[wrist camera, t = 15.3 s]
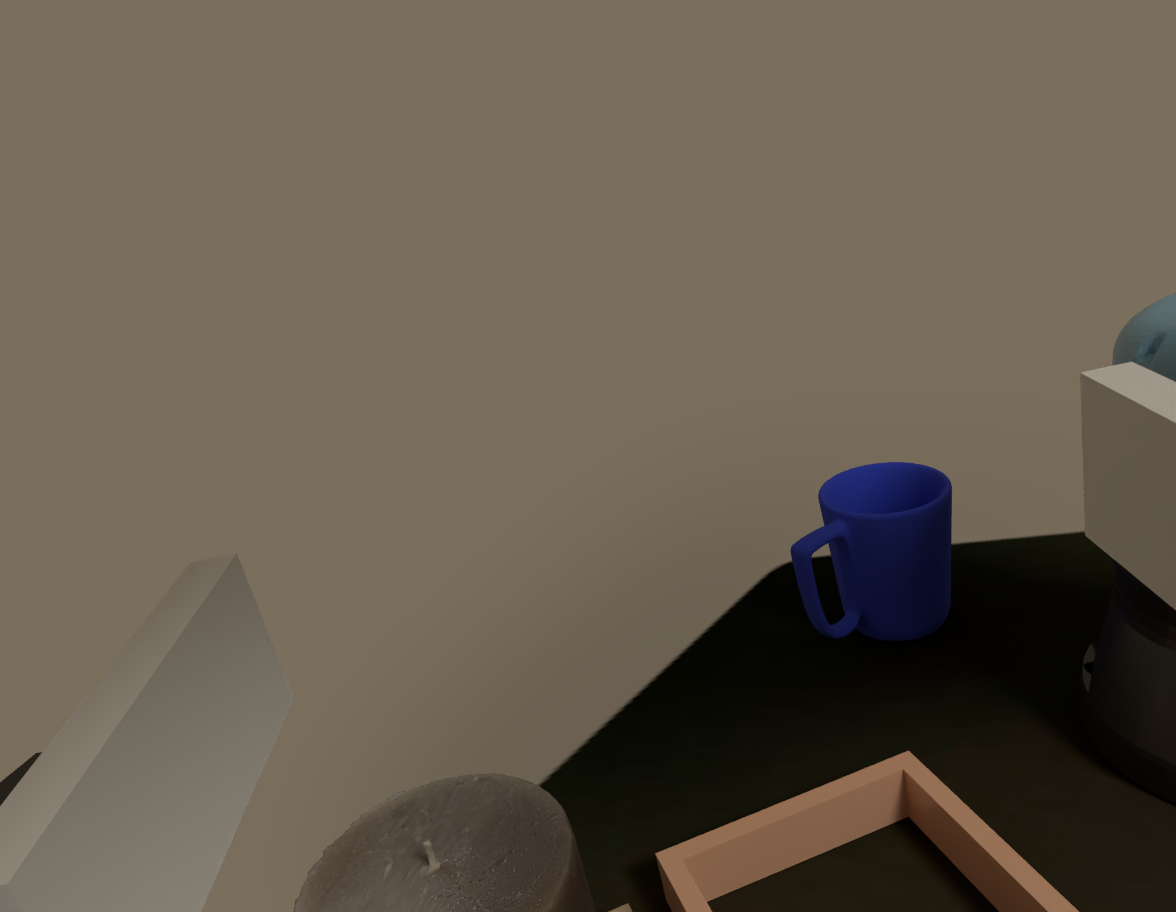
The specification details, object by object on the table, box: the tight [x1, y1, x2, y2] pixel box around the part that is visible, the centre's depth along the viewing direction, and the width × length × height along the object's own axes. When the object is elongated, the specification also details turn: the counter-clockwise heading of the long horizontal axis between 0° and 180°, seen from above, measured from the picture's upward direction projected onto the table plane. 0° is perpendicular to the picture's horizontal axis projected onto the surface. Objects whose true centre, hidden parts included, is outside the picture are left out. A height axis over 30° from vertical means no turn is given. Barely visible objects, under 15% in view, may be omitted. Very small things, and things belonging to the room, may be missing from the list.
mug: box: [791, 462, 952, 641], centre depth 62 cm, size 8×12×10 cm
